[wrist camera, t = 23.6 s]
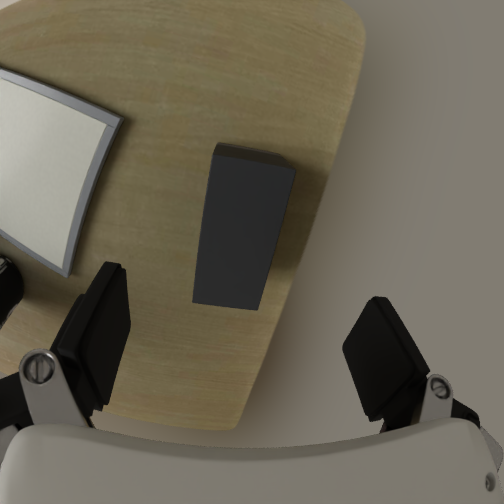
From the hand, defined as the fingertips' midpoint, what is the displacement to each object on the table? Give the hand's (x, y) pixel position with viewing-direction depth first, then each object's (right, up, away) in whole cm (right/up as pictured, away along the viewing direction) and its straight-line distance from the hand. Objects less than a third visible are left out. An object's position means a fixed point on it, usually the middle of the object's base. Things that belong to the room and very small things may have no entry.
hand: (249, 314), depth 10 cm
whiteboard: (-23, +11, +6) cm, 26 cm away
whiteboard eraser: (-1, +5, +11) cm, 13 cm away
